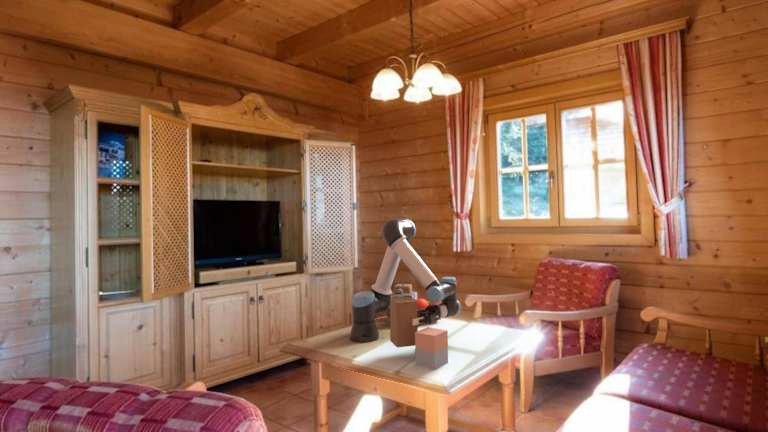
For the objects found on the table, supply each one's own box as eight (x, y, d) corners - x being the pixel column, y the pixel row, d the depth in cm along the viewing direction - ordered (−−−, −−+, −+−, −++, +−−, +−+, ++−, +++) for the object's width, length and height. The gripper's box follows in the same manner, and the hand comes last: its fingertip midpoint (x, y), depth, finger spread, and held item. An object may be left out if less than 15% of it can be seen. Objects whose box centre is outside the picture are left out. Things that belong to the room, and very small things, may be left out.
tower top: (415, 348, 191) (414, 332, 191) (428, 342, 198) (428, 327, 198) (435, 352, 184) (434, 335, 184) (447, 346, 192) (447, 330, 192)
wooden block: (418, 345, 199) (417, 301, 199) (396, 347, 196) (396, 302, 196) (410, 339, 209) (409, 296, 208) (390, 341, 206) (389, 298, 206)
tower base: (415, 364, 191) (415, 348, 191) (428, 358, 198) (428, 342, 198) (435, 369, 184) (434, 352, 184) (448, 362, 192) (447, 346, 192)
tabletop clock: (405, 320, 268) (404, 278, 267) (414, 323, 260) (413, 280, 260) (385, 324, 259) (384, 281, 259) (394, 327, 252) (393, 283, 252)
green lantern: (394, 319, 271) (393, 286, 271) (397, 315, 281) (396, 283, 281) (410, 319, 269) (409, 286, 269) (413, 315, 279) (412, 283, 279)
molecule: (432, 317, 273) (437, 293, 270) (444, 325, 264) (449, 300, 261) (398, 320, 259) (403, 295, 256) (410, 329, 250) (415, 303, 247)
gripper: (455, 324, 206) (422, 333, 192) (417, 315, 225) (385, 322, 211) (455, 308, 206) (422, 316, 192) (417, 300, 225) (385, 306, 211)
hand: (402, 319), depth 202 cm, fingers closed on wooden block, 12 cm apart
